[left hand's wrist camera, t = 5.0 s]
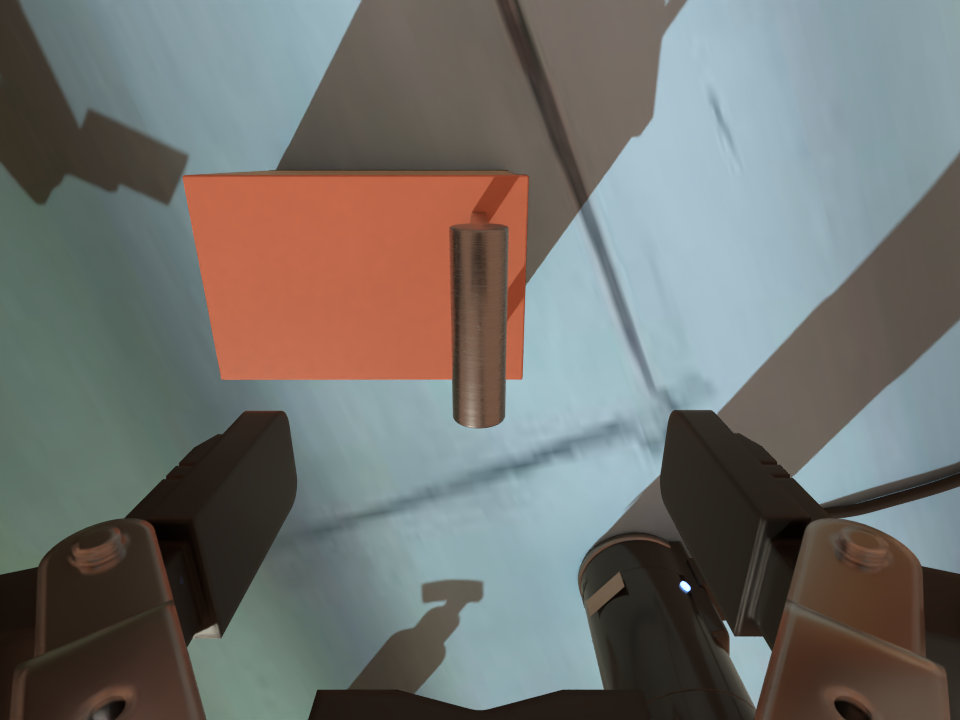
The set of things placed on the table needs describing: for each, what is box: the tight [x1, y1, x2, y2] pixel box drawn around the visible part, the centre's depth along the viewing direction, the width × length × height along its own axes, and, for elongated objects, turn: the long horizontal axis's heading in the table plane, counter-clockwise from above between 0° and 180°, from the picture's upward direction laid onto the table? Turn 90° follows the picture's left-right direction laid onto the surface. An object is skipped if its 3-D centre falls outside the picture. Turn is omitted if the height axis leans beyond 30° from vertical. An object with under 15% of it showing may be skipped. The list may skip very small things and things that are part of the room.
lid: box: [183, 175, 529, 428], centre depth 22 cm, size 16×10×9 cm, turn 90°
